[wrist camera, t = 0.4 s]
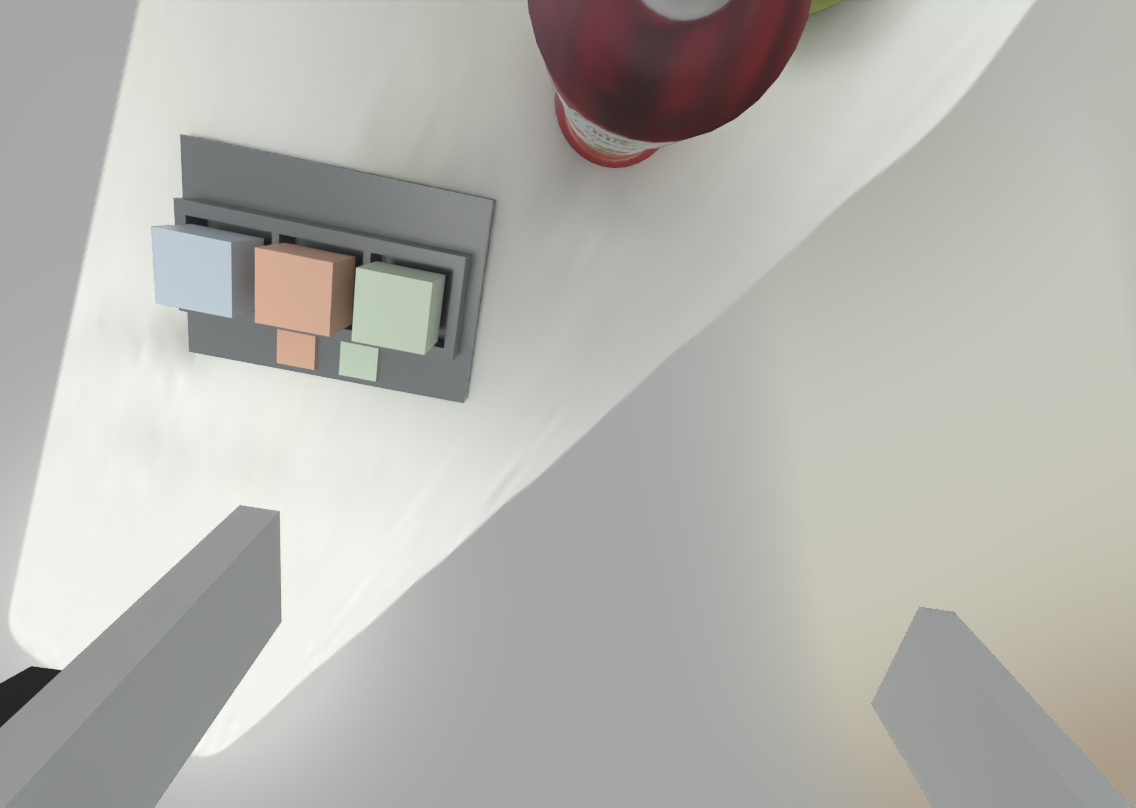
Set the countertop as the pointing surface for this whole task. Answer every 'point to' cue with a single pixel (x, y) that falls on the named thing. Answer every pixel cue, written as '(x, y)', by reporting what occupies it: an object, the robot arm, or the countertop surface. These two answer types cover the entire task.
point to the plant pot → (822, 5)
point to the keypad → (346, 226)
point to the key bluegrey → (204, 269)
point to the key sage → (397, 307)
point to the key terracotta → (303, 288)
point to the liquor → (659, 67)
